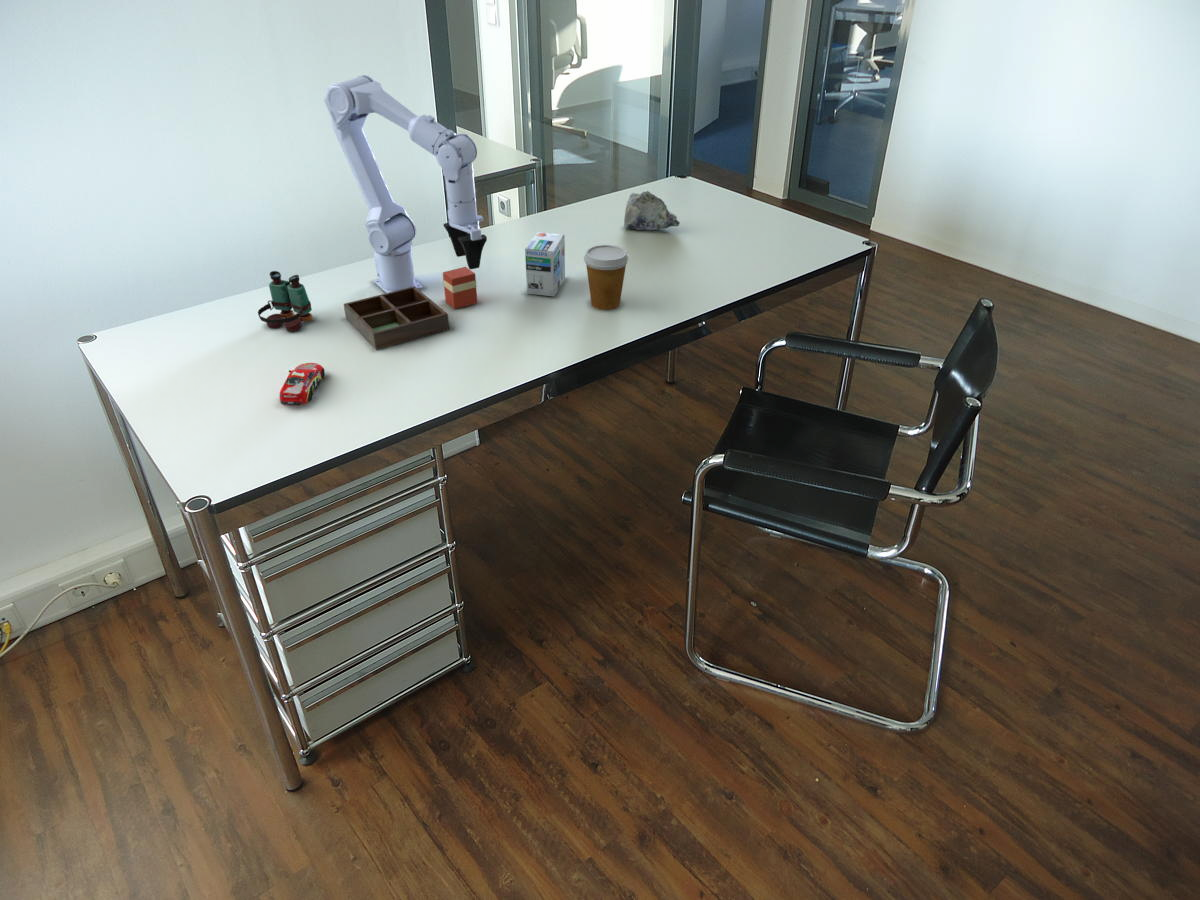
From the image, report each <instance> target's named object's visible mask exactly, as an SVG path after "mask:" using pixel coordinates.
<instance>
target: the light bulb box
mask: <svg viewBox="0 0 1200 900" xmlns="http://www.w3.org/2000/svg"><path fill="white" fill-rule="evenodd" d="M524 255H525V258H524V259H525V280H526V294H528V295H534V296H535V295H537V296H545V297H552V298H553V297H556V295H557V293H558V292H559V290H560V288H561V287H562V285H563V284H564V282H565V280H566V236H565V234H562V233H561V234H560V233H550V232H542V231H536V233H535V234H534V236H532V239H531V240H530V241H529V242H528V244H527V245H526V247H525V248H524Z"/></svg>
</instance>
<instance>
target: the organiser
mask: <svg viewBox="0 0 1200 900" xmlns="http://www.w3.org/2000/svg"><path fill="white" fill-rule="evenodd" d="M343 309H344V314H345V319H346V321H347V323H349V324H350V325H351V326H352V327H353V328H354V329H355V330H356V331H357V332H358V333H359V334H360V335H361V336H362V337H363V339H364V340H365V341H366V342H368V343H369V344H370V345H371V347H373V349H374V350H375V351H378V350H382V349H384V348H388V347H392V346H396V345H400V344H402V343H407V342H409V341H414V340H417V339H420V338H424V337H427V336H431V335H435V334H438V333H441V332H446V331H449V330H450V323H449V314H448V313H447V312H446V311H445V310H444V309H443V308H441V307H440V306H439V305H438V304H437V303H436V302H434V301H433V300H432V299H431V298H430V297H428V295H426V294H424V293H423V291H421V290H420V289H417V288H416V287H415V286H413V287H409V288H405V289H401V290H397V291H393V292H389V293H386V292H384V293H382V294H381V293H380V294H378V295H377V294H376V295H374V296H370V297H369V296H368V297H366V298H361V299H358V300H357V299H356V300H353V301H349V302H346V303H343Z"/></svg>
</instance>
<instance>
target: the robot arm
mask: <svg viewBox="0 0 1200 900" xmlns="http://www.w3.org/2000/svg"><path fill="white" fill-rule="evenodd" d="M323 101H324V104H325V107H326V108H327V111H328V113H329V115H330V117H331V124H332V129H333V132H334V134H335V136H336V138H337V140H338V143H339V145H340V147H341V150H342V152H343V154H344V157H345V159H346V161H347V163H348V165H349V168H350V170H351V173H352V175H353V177H354V179H355V181H356V184H357V186H358V188H359V190H360V193H361V195H362V197H363V199H364V202H365V204H366V207H367V209H368V210H369V211H368V214H367V216H366V219H365V222H364V225H365V228H366V231H367V234H368V235H367V239H368V243H369V244H370V245H371V246H370V247H371V248H372V249H373V250H374V254H373V257H374V265H375V271H376V278H375V279H374V280H373V283H375V284H376V286H378V288H380V289H381V290H382V291H383V292H384V293H389V292H393V291H397V290H401V289H405V288H409V287H413V286H415V287H416V288H417V289H419V290H420V289H423V285H422V284H420V282H418V281H417V280H416V277H415V271H414V270H415V269H414V262H413V253H412V246H413V240H414V239H415V238H416V236H417V228H416V224H415V223H414V221H413V220H412V218H411V217H410V216H409V215H408V213H407V211H406V209H405V207H404V206H402V205H401V204H399V203H397V202H395V201H394V200H393V197H392V195H391V193H390V190H389V188H388V185H387V184H386V182H385V179H384V177H383V174H382V172H381V170H380V167H379V164H378V163H377V160H376V158H375V155H374V153H373V150H372V148H371V146H370V144H369V142H368V140H367V137H366V134H365V132H364V125H365V123H366V120H367V118H368V116H369V115H370V114H374V113H375V114H377V115H379V116H381V117H383V118H384V119H386V120H387V121H390V122H391V123H393V124H395V125H397V126H398V127H400V128H401V129H404V130H405V131H407V132H408V134H409V138H410V140H411V142H413V143H414V144H416V145H418V146H419V147H420V148H422V149H424V150H425V151H426V152H428V153H430V154H431V155H432V156H434V157H435V158H436V162H437V164H438V165H439V166H440V168H441V170H442V175H443V177H444V179H445V180H444V181H445V190H446V199H447V210H446V211H447V219H448V222H445V223H443V227H444V229H445V230H446V231H447V234H448V236H449V238H450V240H451V244H452V247H453V250H454V253H455V256H456V257H457V258H460V257H464V256H465V260H466V264H467V268H468V269H470V270H475V269H479V268H480V266H481V259H482V253H483V250H484V247H485V244H486V243H487V241H488V240H487V239H488V237H487V235H486V234H482V230H481V228H480V223H481V222H483V221H484V217H483V216H482V215H479V214H478V211H477V210H478V209H477V198H476V186H475V177H474V166H473V162H474V161H476V159H477V157H478V147H477V145H476V143H475V141H474V140H473V138H471V137H470V136H469V135H468V133H455V132H454V131H453V130H452V129H448V128H447V127H445V126H444V125H442V124H441V123H440V122H437V121H436V120H435V119H436V118H435V117H434V116H432V115H431V114H429V115H427V114H421V115H419V116H418V115H417V114H415V113H414V112H412V111H411V110H410V109H409V108H407V107H406V106H405V105H404V104H402V103H401V102H400V101H399V100H397V99H395V98H394V97H393V96H392V95H390V93H388V92H387V91H385V90H384V88H383V86H382V84H381V83H380V82H378V81H376V80H374V79H373V77H371V76H370V75H367V74H361V75H358V76H357V77H353V78H350V79H348V80H347V79H346V80H344V81H341V82H334V83H332V84H330V85H329V87H328V88H327V91H326V94H325V96H324V100H323Z"/></svg>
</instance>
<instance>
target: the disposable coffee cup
mask: <svg viewBox="0 0 1200 900" xmlns="http://www.w3.org/2000/svg"><path fill="white" fill-rule="evenodd" d="M629 258H630V257H629V255H628V253H627V251H626V249H624V247H621V246H619V245H613V244H598V245H593V246H591V247H589V248H587V250H586V251H585V254H584V256H583V260H584V261H583V262H584V263H585V265H586V273H587V279H588V280H587V281H588V289H589V296H590V304H591V306H592V308H594V309H596V310H599V311H611V310H616V309H617V308H619V307H620V305H621V299H622V293H623V287H624V280H625V274H626V268H627V264H628V262H629Z"/></svg>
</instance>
